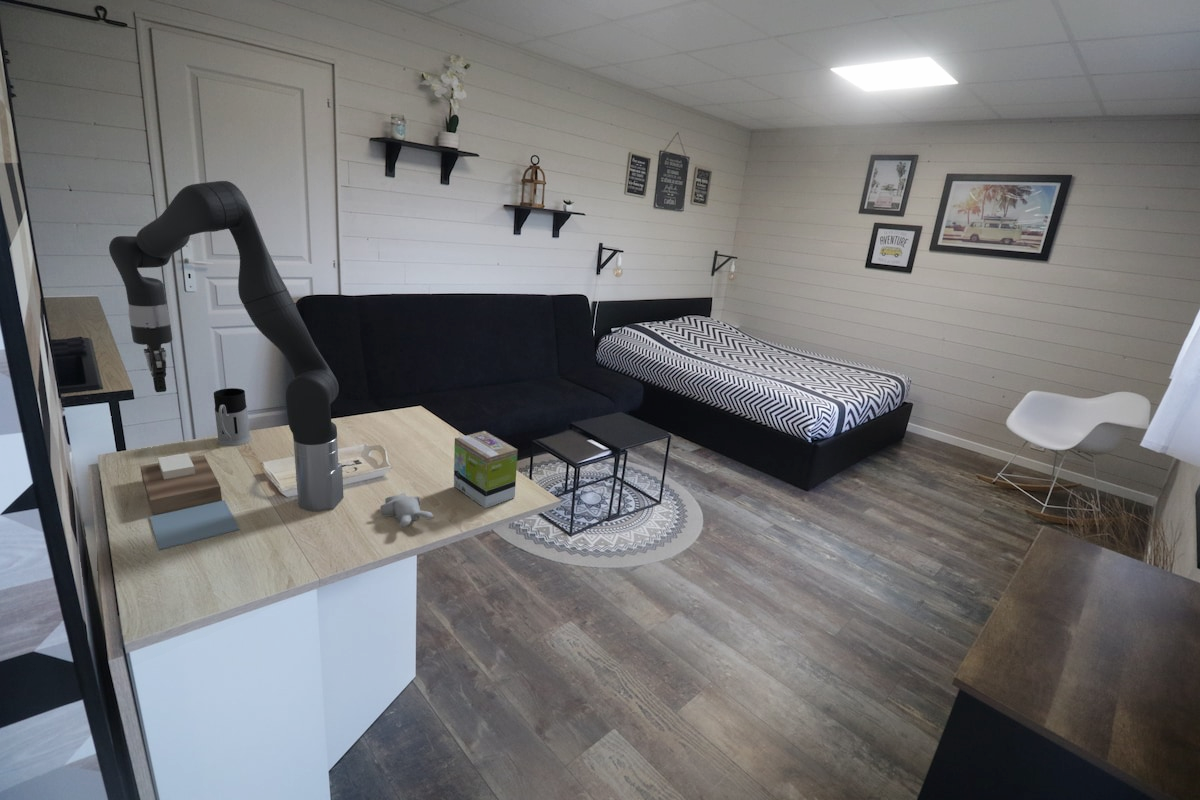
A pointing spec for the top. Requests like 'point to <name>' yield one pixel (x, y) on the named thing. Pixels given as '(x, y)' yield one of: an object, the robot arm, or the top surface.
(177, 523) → the mat
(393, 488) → the top surface
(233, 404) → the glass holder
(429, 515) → the grey animal figure
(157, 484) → the deck
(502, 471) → the tea box
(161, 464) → the white rectangular block
